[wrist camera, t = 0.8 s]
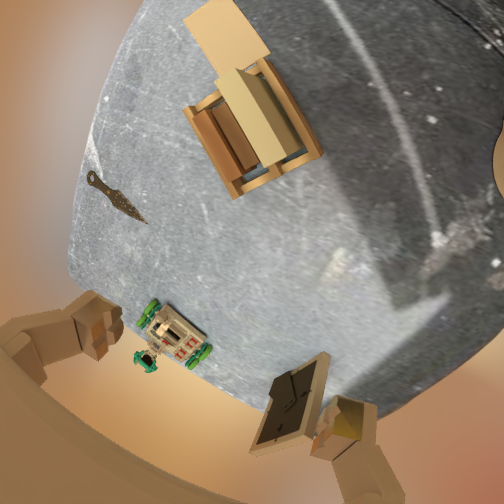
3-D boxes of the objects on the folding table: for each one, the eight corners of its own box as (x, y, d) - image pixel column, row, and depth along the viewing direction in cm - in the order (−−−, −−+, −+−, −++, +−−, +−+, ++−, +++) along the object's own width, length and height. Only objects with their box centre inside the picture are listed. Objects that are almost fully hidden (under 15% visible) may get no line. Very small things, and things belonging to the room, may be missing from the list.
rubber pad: (226, -8, 34) (224, -9, 33) (271, 53, 37) (270, 53, 37) (184, 21, 38) (182, 20, 37) (224, 82, 41) (222, 82, 41)
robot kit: (130, 336, 78) (111, 356, 70) (159, 288, 65) (136, 310, 57) (179, 377, 79) (163, 400, 71) (222, 340, 66) (205, 368, 58)
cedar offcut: (224, 109, 44) (204, 109, 38) (257, 167, 46) (242, 175, 40) (212, 117, 45) (191, 118, 39) (245, 174, 47) (228, 183, 41)
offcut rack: (271, 63, 38) (262, 56, 34) (323, 153, 42) (320, 156, 37) (197, 110, 45) (182, 110, 40) (244, 192, 49) (233, 200, 44)
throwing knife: (91, 166, 57) (89, 166, 57) (152, 216, 57) (151, 217, 57) (86, 182, 59) (85, 182, 59) (146, 232, 59) (144, 233, 59)
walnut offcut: (239, 103, 42) (224, 101, 37) (270, 156, 45) (259, 162, 40) (227, 111, 44) (211, 110, 38) (257, 163, 46) (245, 169, 41)
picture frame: (283, 385, 66) (256, 457, 48) (274, 378, 66) (245, 450, 48) (330, 356, 57) (312, 440, 40) (321, 348, 57) (300, 433, 40)
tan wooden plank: (266, 80, 40) (234, 67, 28) (304, 146, 42) (287, 156, 31) (250, 90, 41) (214, 81, 30) (287, 155, 44) (264, 168, 33)
